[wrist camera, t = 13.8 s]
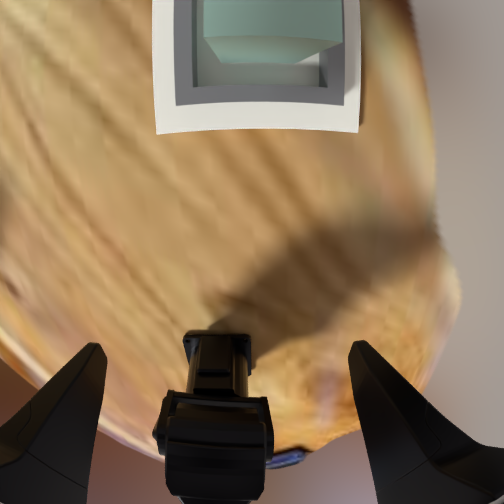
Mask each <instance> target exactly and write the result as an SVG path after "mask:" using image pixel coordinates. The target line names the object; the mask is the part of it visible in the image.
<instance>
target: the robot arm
mask: <svg viewBox="0 0 504 504" xmlns="http://www.w3.org/2000/svg"><path fill="white" fill-rule="evenodd" d="M244 339H246V340H244ZM183 344H184V348H185V352H186V356H187V359H188V363H189V373H188V381H187V389H186V393H185V392H176V391H174V390H168V392H167V396H166V397H164V399H163V401H162V407H161V412H160V415H159V418H158V420H157V422H156V424H155V427H154V429H153V432H152V436H153V437H154V439H155V440H156V441H157V446H158V451H159V454H160V455H164V456H165V478H166V485H167V487H168V489H169V491H170V493H171V494H172V495H173V496H177V497H178V498H179V500H180V501H181V503H182V504H249V503H250V502H251V501H253V500H258V498H259V497H260V495H261V493H262V492H263V490H264V482H265V467H266V462H271V460H272V457H273V452H274V431H273V425H272V420H271V415H270V410H269V405H268V400H267V397H248V376H250V375H251V337H250V336H249V335H247V334H239V335H185V336H184V337H183ZM348 363H349V370H350V376H351V383H352V390H353V396H354V401H355V405H356V409H357V413H358V417H359V421H360V425H361V428H362V432H363V436H364V440H365V445H366V449H367V453H368V458H369V462H370V466H371V471H372V476H373V480H374V485H375V490H376V496H377V501H378V504H504V448H498V447H491V446H485V445H482V444H480V443H478V442H476V441H475V440H473V439H472V438H471V437H469V436H468V435H467V434H465V433H464V432H463V431H461V430H460V429H459V428H458V427H456V426H455V425H454V424H453V423H451V422H450V421H449V420H448V419H447V418H445V417H444V416H443V415H442V414H441V413H440V412H439V411H438V410H437V409H436V408H435V407H434V406H432V404H431V403H430V402H428V401H427V400H426V399H425V398H424V397H423V396H422V395H421V394H420V393H419V392H418V391H417V390H416V389H415V388H414V387H413V386H412V385H411V384H410V383H409V382H408V381H407V380H406V379H405V378H404V377H403V376H402V375H401V374H400V373H399V372H398V371H397V370H396V369H395V368H394V367H393V366H392V365H390V364H389V363H388V362H387V361H386V360H385V359H384V358H383V357H382V356H381V355H380V354H379V353H378V352H377V351H376V350H375V349H374V348H373V347H372V346H371V345H370V344H369V343H368V342H367V341H365V340H360V341H354V342H353V344H352V347H351V350H350V353H349V356H348ZM106 370H107V357H106V355H105V353H104V351H103V349H102V347H101V345H100V344H99V343H93V342H90V343H88V344H87V345H86V346H84V347H83V348H82V349H81V350H80V351H79V352H78V353H77V354H76V355H75V356H74V357H73V358H72V359H71V360H70V361H69V362H68V363H67V364H66V365H65V366H63V367H62V368H61V369H60V370H59V371H58V372H57V373H56V374H55V375H54V376H53V377H52V378H51V379H50V380H49V381H48V382H47V383H46V384H45V385H44V386H43V387H42V388H41V389H40V390H39V391H38V392H37V393H36V394H35V395H34V396H33V397H32V398H31V400H29V401H28V402H27V403H26V404H25V405H24V406H23V407H22V408H21V409H20V410H19V411H18V412H17V413H16V414H15V415H14V416H13V417H11V418H10V419H9V420H8V421H7V422H6V423H5V424H3V425H2V426H1V427H0V504H86V502H87V492H88V482H89V474H90V467H91V459H92V453H93V447H94V441H95V436H96V430H97V425H98V420H99V415H100V410H101V405H102V400H103V394H104V386H105V378H106Z"/></svg>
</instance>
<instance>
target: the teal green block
mask: <svg viewBox="0 0 504 504" xmlns="http://www.w3.org/2000/svg"><path fill="white" fill-rule="evenodd" d="M204 39H205V40H206V41H207V43H208V44H209V46H210V47H211V49H212V50H213V51H214V53H215V54H216V56H217V57H218V59H219V60H220V62H221V63H250V62H258V63H291V64H295V63H297V62H299V61H302V60H304V59H306V58H308V57H310V56H312V55H314V54H317V53H319V52H321V51H323V50H326V49H328V48H330V47H333V46H335V45H337V44H340V43H342V42H343V39H342V3H341V0H204Z"/></svg>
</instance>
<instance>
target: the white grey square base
mask: <svg viewBox="0 0 504 504" xmlns="http://www.w3.org/2000/svg"><path fill="white" fill-rule="evenodd" d="M341 3H342V39H343V42H342V43H340V44H337V45H335V46H333V47H330V48H328V49H326V50H323V51H321V52H319V53H317V54H314V55H312V56H310V57H308V58H306V59H304V60H302V61H299V62H297V63H295V64H291V63H258V62H250V63H221V62H220V60H219V59H218V57H217V56H216V54H215V53H214V51H213V50H212V49H211V47H210V46H209V44H208V43H207V41H206V40H205V39H204V0H153V7H152V58H153V86H154V104H155V119H156V131H157V134H166V133H176V132H188V131H202V130H220V129H255V128H276V129H311V130H329V131H342V132H354V133H358V126H359V109H360V85H361V26H360V3H359V0H341Z"/></svg>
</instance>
